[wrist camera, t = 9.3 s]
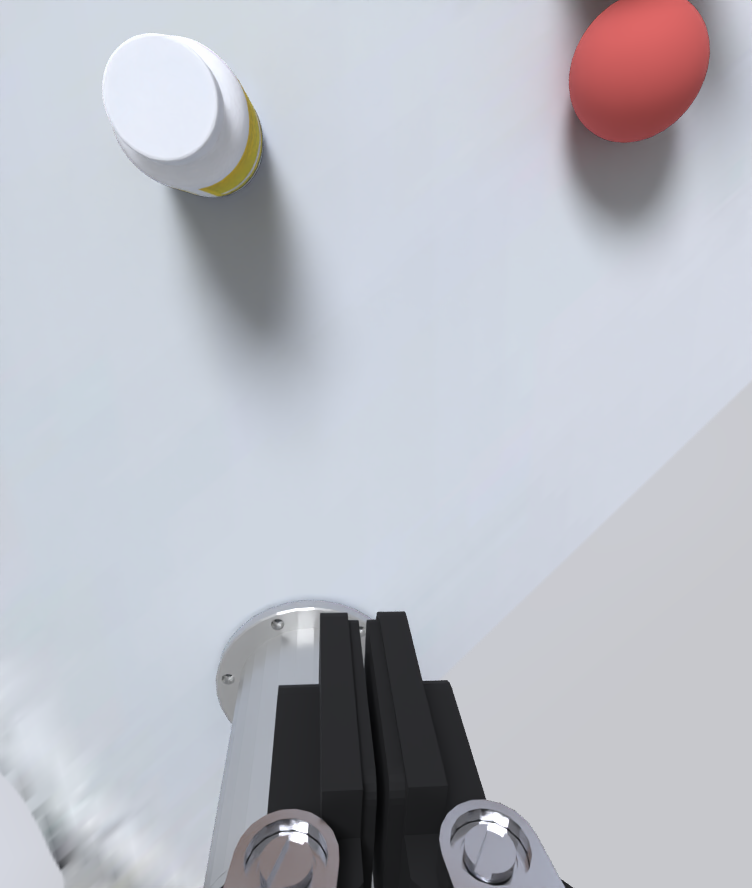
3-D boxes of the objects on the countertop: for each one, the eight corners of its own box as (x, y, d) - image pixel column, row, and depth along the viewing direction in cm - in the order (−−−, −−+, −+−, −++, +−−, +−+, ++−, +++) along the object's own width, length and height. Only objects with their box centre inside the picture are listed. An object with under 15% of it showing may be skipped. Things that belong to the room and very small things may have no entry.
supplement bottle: (265, 84, 29) (241, 19, 20) (263, 202, 31) (240, 193, 22) (151, 70, 28) (72, -3, 19) (156, 192, 30) (86, 178, 21)
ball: (750, -11, 26) (660, 94, 32) (628, -68, 25) (559, 51, 31) (733, 95, 24) (643, 186, 30) (603, 38, 24) (536, 142, 29)
